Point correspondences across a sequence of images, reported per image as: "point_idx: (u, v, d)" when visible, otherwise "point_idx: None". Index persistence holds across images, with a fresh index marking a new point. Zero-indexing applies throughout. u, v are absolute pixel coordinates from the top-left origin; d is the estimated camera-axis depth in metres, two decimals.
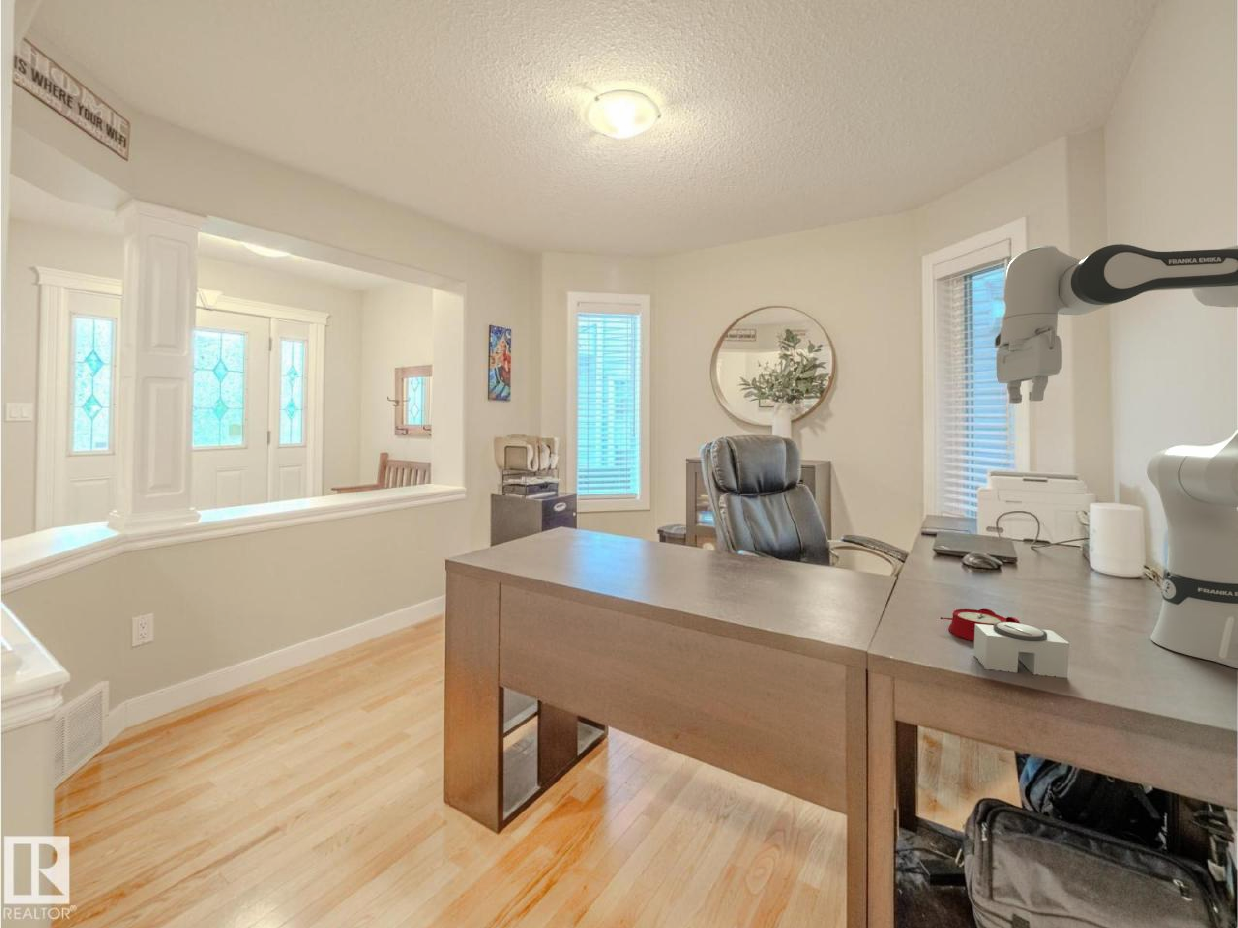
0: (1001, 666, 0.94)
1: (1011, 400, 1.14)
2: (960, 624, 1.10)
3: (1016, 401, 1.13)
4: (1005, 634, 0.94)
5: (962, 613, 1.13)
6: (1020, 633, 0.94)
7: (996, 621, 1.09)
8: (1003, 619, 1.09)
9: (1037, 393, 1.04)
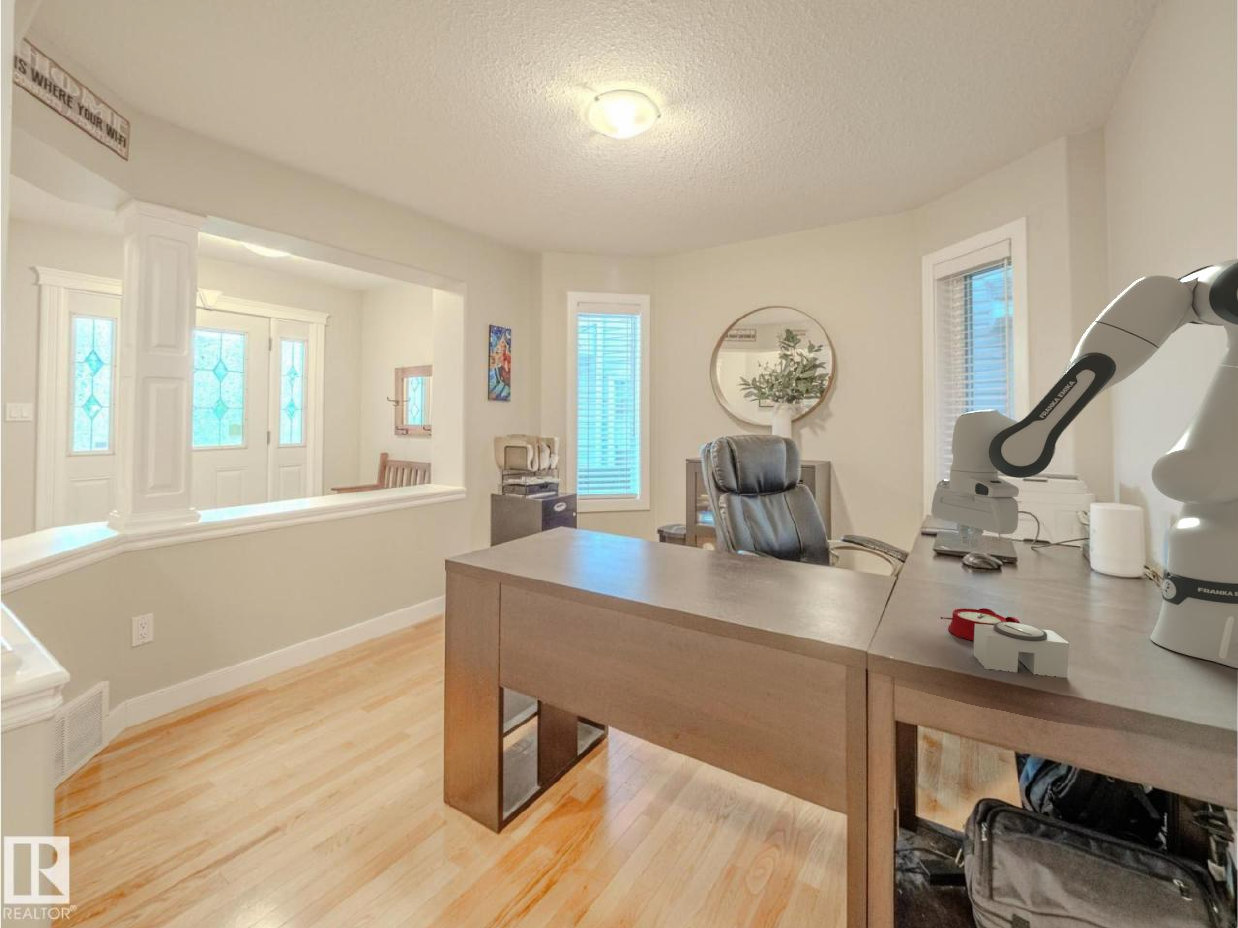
0: (1001, 666, 0.94)
1: None
2: (959, 624, 1.10)
3: None
4: (1005, 634, 0.94)
5: (962, 613, 1.13)
6: (1020, 633, 0.94)
7: (996, 621, 1.09)
8: (1003, 619, 1.09)
9: None
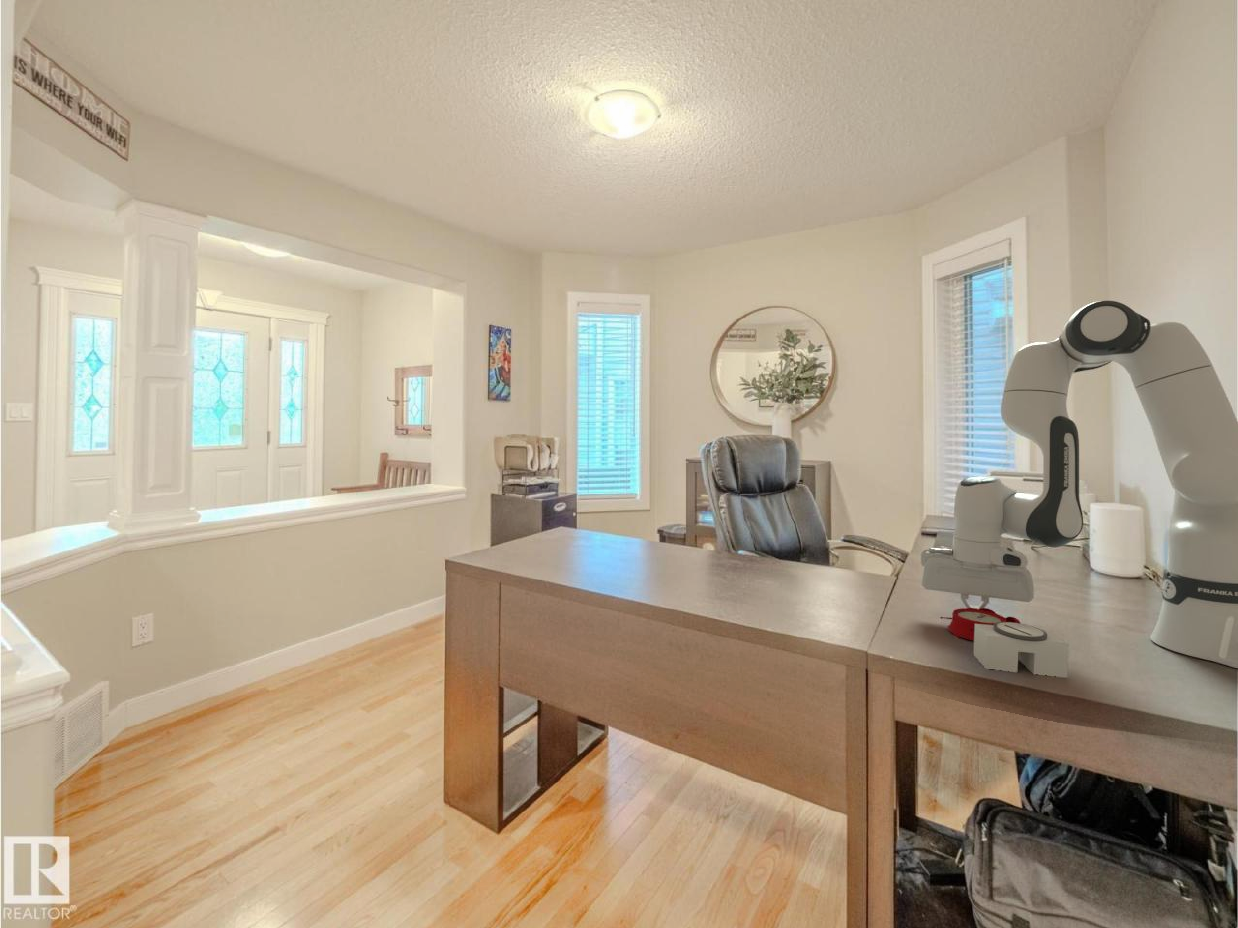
0: (1001, 666, 0.94)
1: None
2: (959, 623, 1.10)
3: None
4: (1005, 634, 0.94)
5: (962, 613, 1.13)
6: (1020, 633, 0.94)
7: (996, 621, 1.09)
8: (1003, 619, 1.09)
9: None
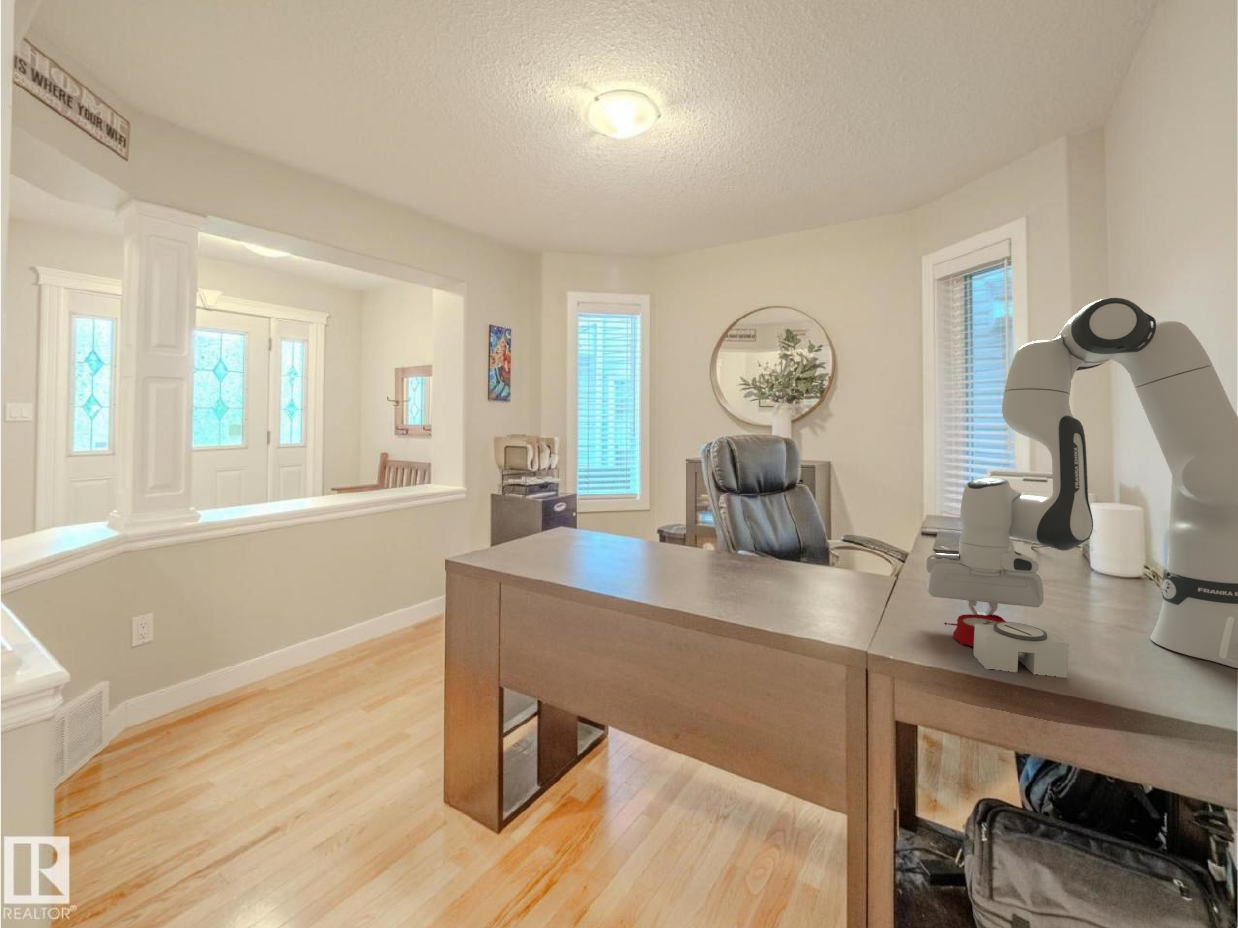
0: (1001, 666, 0.94)
1: None
2: (964, 630, 1.06)
3: None
4: (1005, 634, 0.94)
5: (967, 619, 1.09)
6: (1020, 633, 0.94)
7: None
8: None
9: (972, 613, 1.14)
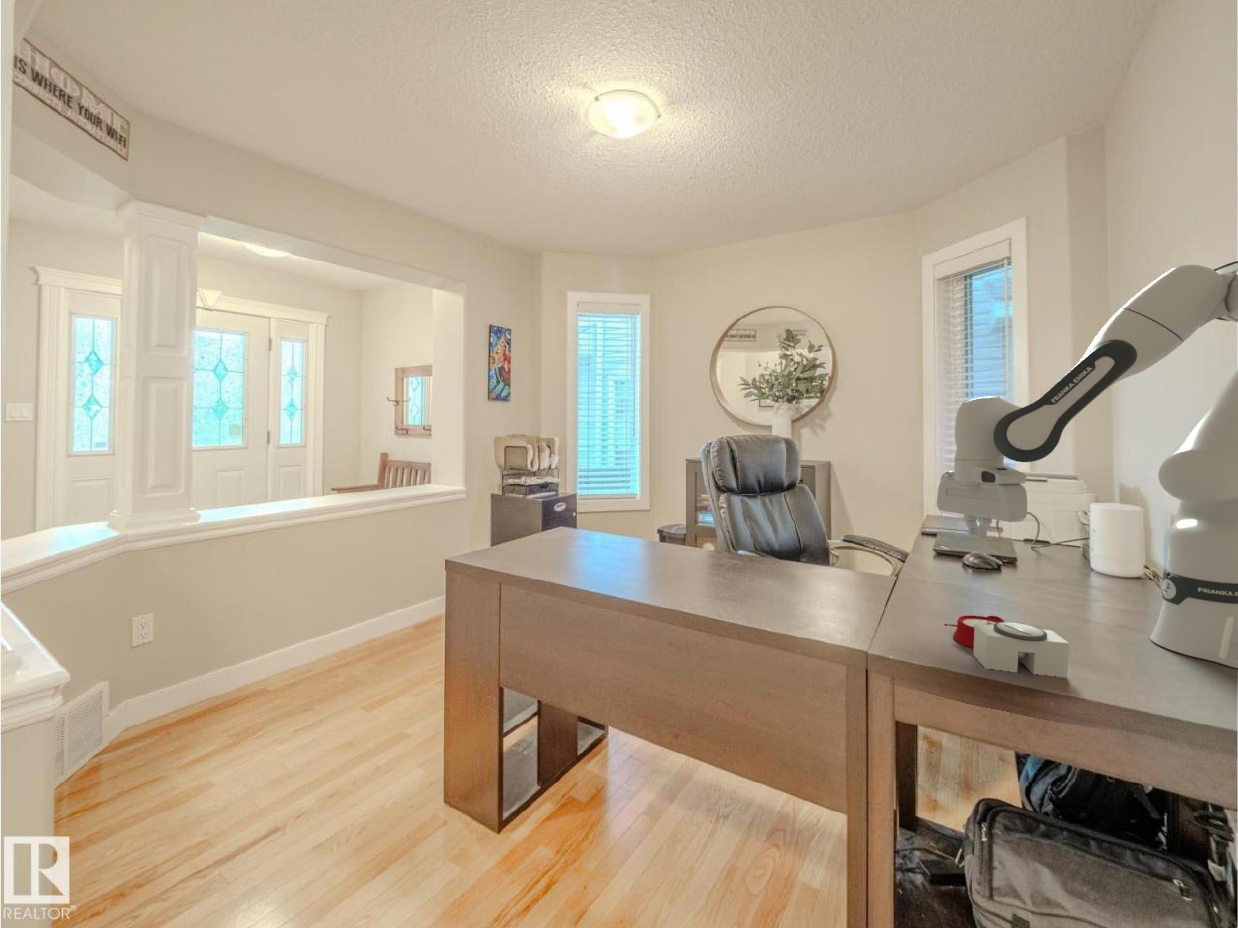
0: (1001, 666, 0.94)
1: None
2: (964, 631, 1.06)
3: None
4: (1005, 634, 0.94)
5: (968, 620, 1.09)
6: (1020, 633, 0.94)
7: None
8: None
9: None
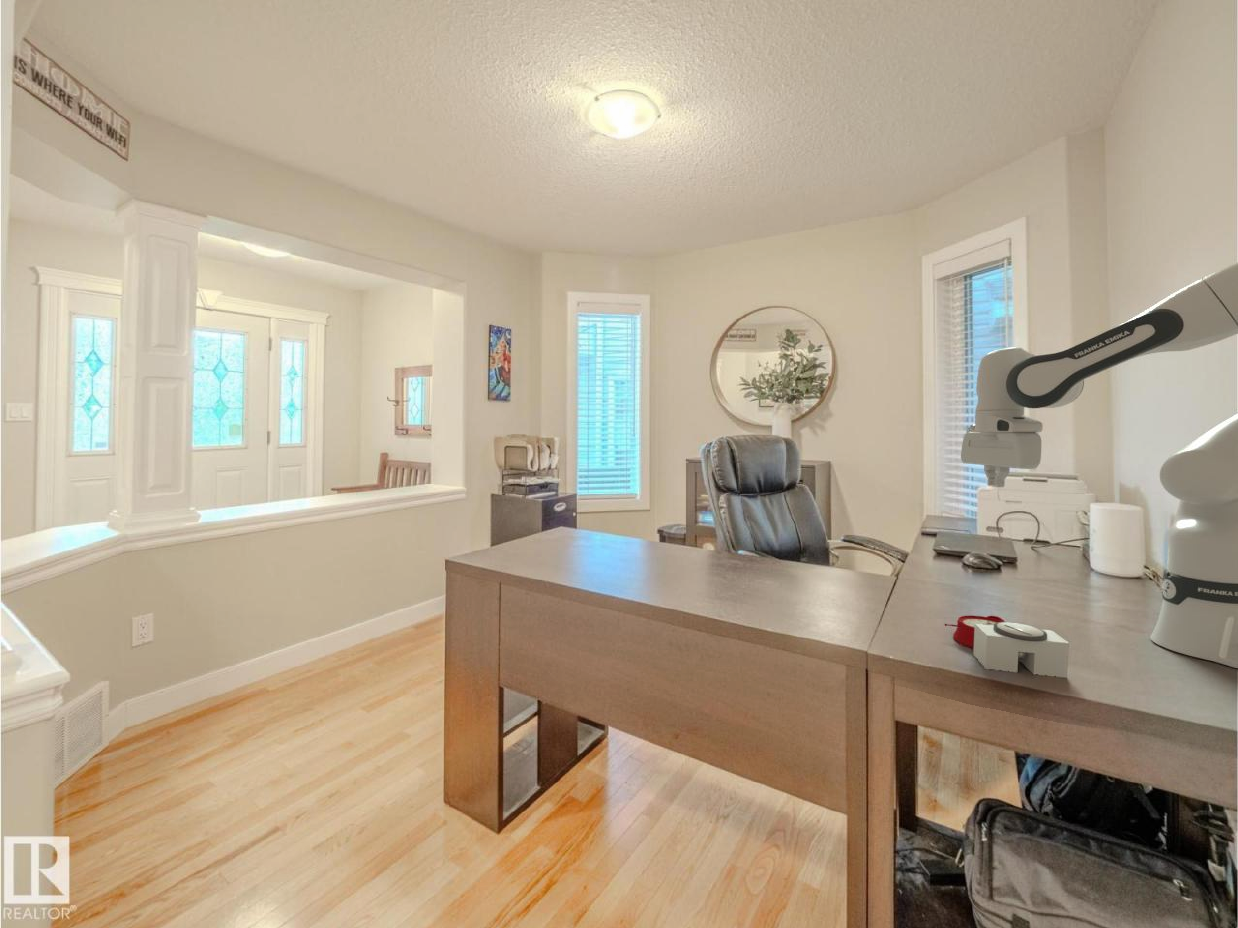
0: (1001, 666, 0.94)
1: None
2: (964, 631, 1.06)
3: None
4: (1005, 634, 0.94)
5: (968, 620, 1.09)
6: (1020, 633, 0.94)
7: None
8: None
9: None
